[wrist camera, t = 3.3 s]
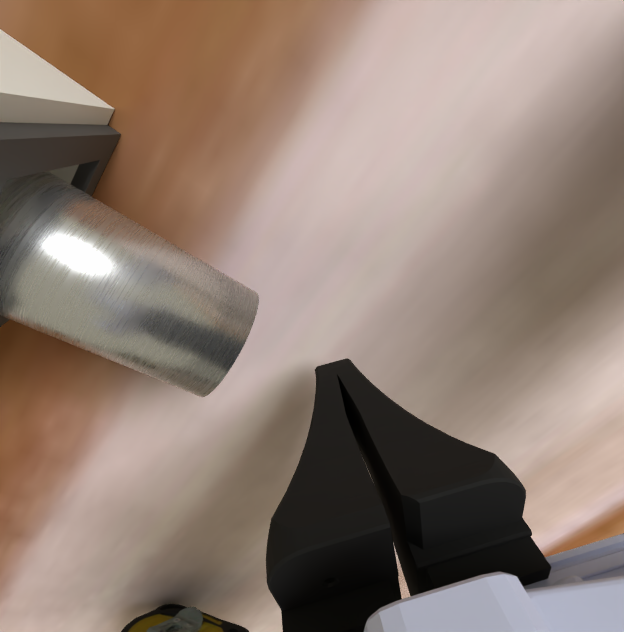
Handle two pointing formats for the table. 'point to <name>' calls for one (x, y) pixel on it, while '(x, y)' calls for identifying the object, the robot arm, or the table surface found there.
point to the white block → (49, 122)
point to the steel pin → (117, 286)
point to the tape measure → (180, 621)
